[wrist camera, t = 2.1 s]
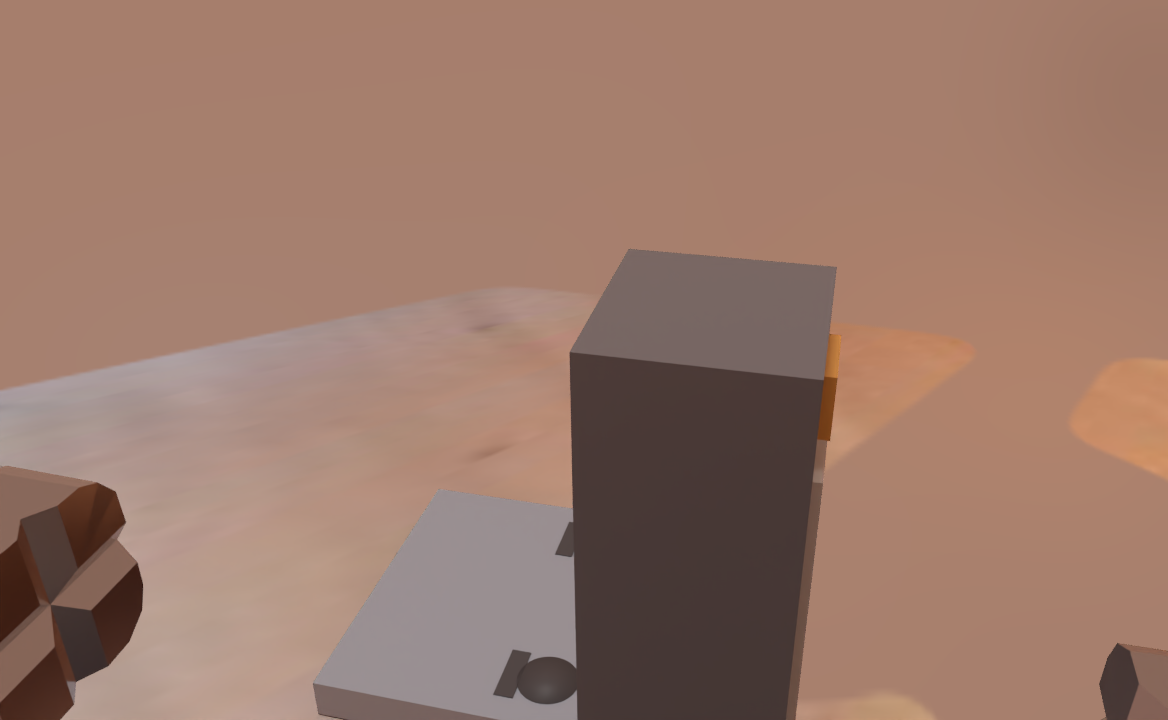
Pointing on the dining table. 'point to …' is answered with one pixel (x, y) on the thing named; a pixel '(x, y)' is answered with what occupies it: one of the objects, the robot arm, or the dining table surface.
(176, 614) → the dining table surface
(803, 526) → the tall taupe pillar
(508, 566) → the mounting plate
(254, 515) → the dining table surface
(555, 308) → the dining table surface
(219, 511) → the dining table surface
